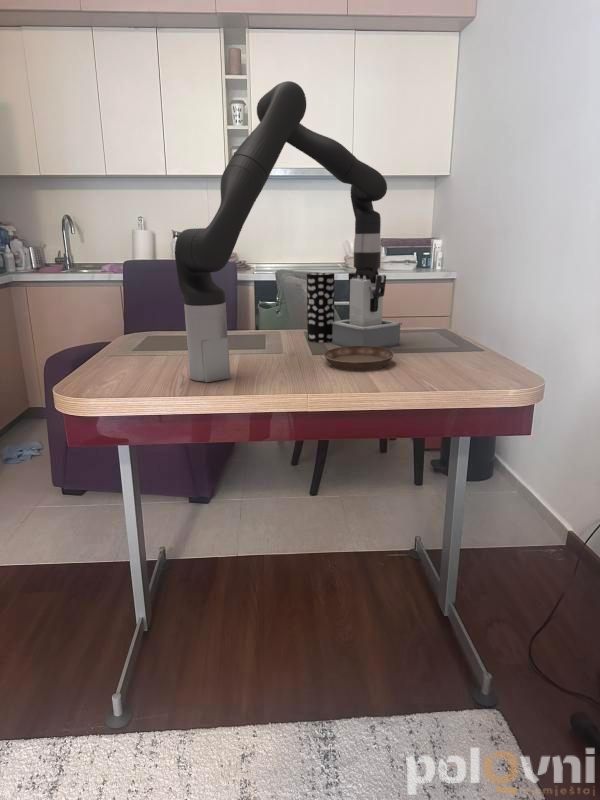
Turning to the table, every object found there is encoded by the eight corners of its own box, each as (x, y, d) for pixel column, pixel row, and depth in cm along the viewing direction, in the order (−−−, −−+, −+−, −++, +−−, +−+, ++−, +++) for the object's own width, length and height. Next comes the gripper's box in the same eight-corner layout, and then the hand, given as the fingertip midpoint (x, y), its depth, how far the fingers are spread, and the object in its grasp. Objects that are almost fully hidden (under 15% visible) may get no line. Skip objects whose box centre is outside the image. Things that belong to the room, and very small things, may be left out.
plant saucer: (345, 376, 125) (345, 364, 124) (311, 361, 140) (311, 349, 139) (407, 367, 132) (408, 355, 131) (369, 354, 147) (369, 343, 146)
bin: (401, 345, 157) (401, 322, 155) (362, 351, 149) (363, 328, 147) (368, 337, 168) (368, 316, 166) (331, 343, 161) (331, 321, 159)
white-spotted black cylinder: (334, 342, 162) (335, 274, 156) (307, 342, 162) (306, 275, 156) (333, 337, 170) (333, 272, 164) (307, 337, 170) (306, 273, 164)
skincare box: (368, 326, 162) (369, 276, 158) (383, 329, 158) (384, 277, 153) (348, 330, 157) (348, 278, 153) (363, 332, 153) (364, 279, 148)
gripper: (394, 250, 147) (392, 312, 152) (360, 249, 158) (359, 306, 163) (374, 251, 143) (372, 314, 148) (340, 250, 154) (340, 309, 159)
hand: (365, 310), depth 156 cm, fingers closed on skincare box, 6 cm apart
